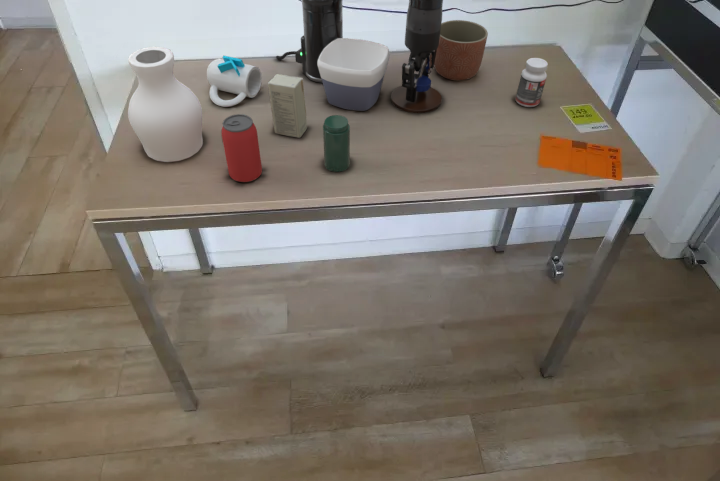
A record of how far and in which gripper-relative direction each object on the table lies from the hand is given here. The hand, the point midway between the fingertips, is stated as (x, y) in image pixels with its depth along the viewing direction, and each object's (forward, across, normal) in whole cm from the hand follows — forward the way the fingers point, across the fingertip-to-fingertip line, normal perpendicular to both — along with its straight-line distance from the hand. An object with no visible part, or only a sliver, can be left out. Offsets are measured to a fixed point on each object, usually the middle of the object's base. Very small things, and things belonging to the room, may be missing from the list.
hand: (416, 94), depth 132 cm
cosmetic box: (+2, -26, +18) cm, 32 cm away
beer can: (+1, -43, +17) cm, 46 cm away
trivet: (+1, 0, 0) cm, 1 cm away
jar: (+1, -31, +3) cm, 31 cm away
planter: (+1, +17, -3) cm, 17 cm away
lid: (-3, 0, 0) cm, 3 cm away
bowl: (+2, -7, +13) cm, 15 cm away
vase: (+2, -43, +36) cm, 56 cm away
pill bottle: (+1, +13, -23) cm, 26 cm away
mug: (+2, -21, +39) cm, 44 cm away
